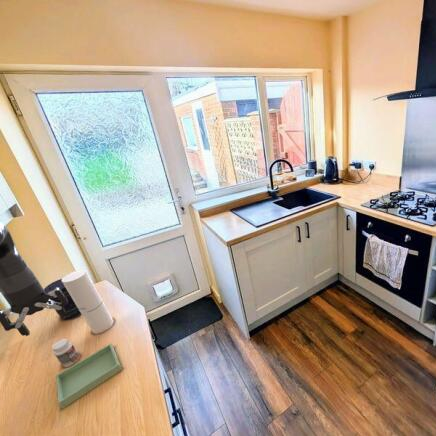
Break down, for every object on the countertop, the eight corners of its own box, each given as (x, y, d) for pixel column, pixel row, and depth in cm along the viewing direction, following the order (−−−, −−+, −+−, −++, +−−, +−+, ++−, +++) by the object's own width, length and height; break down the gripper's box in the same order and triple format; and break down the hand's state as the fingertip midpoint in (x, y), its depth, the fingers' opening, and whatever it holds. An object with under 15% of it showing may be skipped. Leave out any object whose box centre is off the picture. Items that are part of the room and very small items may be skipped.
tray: (62, 408, 70) (58, 403, 69) (59, 380, 79) (55, 375, 78) (122, 369, 80) (119, 364, 79) (113, 348, 88) (110, 343, 87)
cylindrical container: (99, 320, 101) (70, 271, 91) (117, 317, 102) (90, 268, 92) (88, 335, 95) (56, 283, 85) (107, 332, 95) (77, 280, 85)
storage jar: (87, 300, 114) (72, 274, 108) (90, 310, 108) (74, 283, 101) (60, 312, 109) (43, 285, 102) (61, 324, 102) (42, 296, 96)
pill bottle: (77, 363, 84) (65, 346, 80) (60, 369, 82) (47, 352, 79) (81, 352, 88) (71, 335, 84) (66, 358, 86) (54, 341, 83)
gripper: (50, 268, 78) (73, 307, 85) (-16, 292, 69) (15, 333, 76) (51, 277, 73) (75, 318, 80) (-20, 304, 64) (14, 347, 71)
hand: (46, 325), depth 78 cm, fingers open, 8 cm apart
